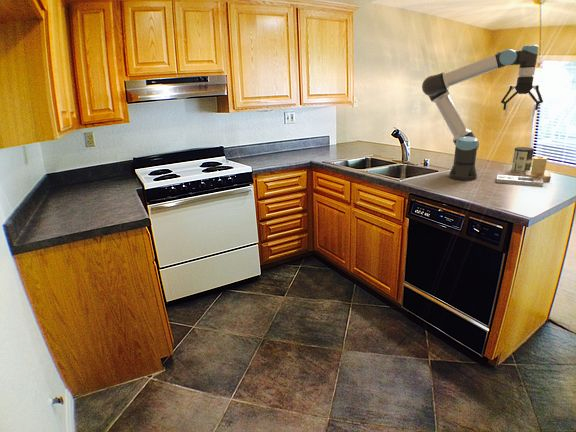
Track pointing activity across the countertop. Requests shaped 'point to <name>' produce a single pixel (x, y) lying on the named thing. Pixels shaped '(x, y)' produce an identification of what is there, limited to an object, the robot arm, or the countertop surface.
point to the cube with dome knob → (539, 165)
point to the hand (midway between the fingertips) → (518, 116)
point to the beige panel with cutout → (519, 180)
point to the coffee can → (522, 159)
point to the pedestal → (544, 177)
